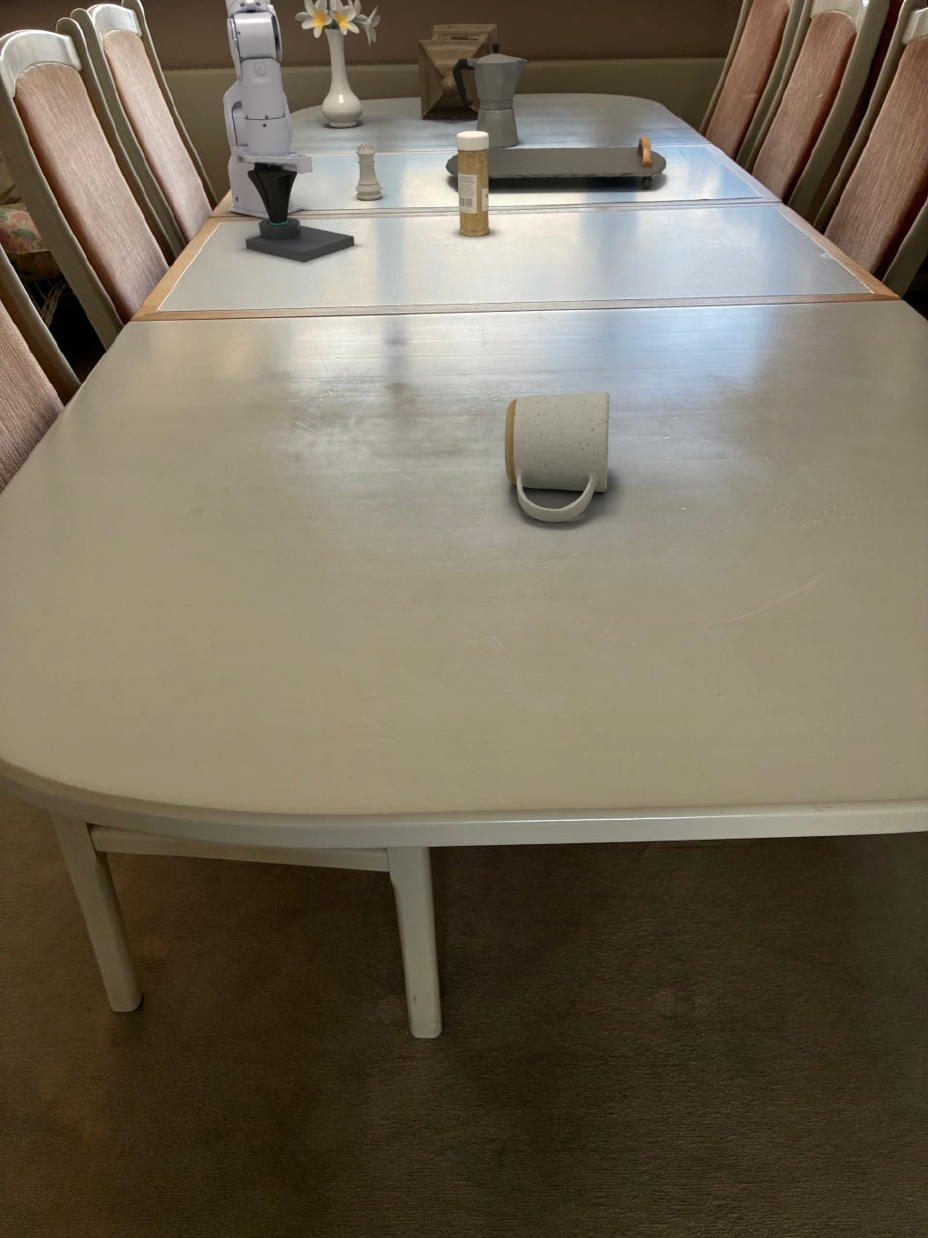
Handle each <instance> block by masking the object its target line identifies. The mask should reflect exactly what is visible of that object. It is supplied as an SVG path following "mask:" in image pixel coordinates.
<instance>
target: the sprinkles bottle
mask: <svg viewBox="0 0 928 1238" xmlns="http://www.w3.org/2000/svg"><path fill="white" fill-rule="evenodd" d="M455 136H456V137H455V141H456V142H455V146H456V149H457V154H458V178H457V189H458V191H457V192H458V193H457V194H458V210H459V230H458V231H459V233H460V235H462V236H465V237H482V236H486V235H487V234H489V233H490V227H489V226H490V225H489V221H490V220H489V208H490V206H489V178H488V166H487V165H488V163H487V151H488V149H489V148H488V147H489V136H488V133H486V132H482V131H476V130H467V131H466V130H465V131H461V132H458V133H457V134H456V135H455Z"/></svg>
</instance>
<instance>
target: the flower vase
mask: <svg viewBox="0 0 928 1238" xmlns="http://www.w3.org/2000/svg"><path fill="white" fill-rule="evenodd" d="M347 3H348V5H345V6H344V5H343V2H342V1H341V0H329V10H328V9H327V8H328V1H327V0H316V2H315V4H314V3H313V1H312V0H303V6H304V9H305V11H301V12H298V13H296V15H295V16H294V19H295V20H296V21H298V22H302V23H301V28H302V31H303V32H307V31H308V30H310V29H313V35H314V37H315V38H316V39H318V38H320V36H321V35H322V30H323V27H324V26H325V27H326V28H325V29H324V33H325V34H326V37H327V41H328V47H329V52H330V65H331V83H330V87H329V90H328V91H329V92H328V93H327V94H326V97H325V98H324V99H323V102H322V103H321V113H322V116H323V117H324V118H325V119H326V120H327V121H329V126H330V127H331V128H337V129H339V128H340V129H344V128H346V129H347V128H352V127H355V126H357V124H358V122H357V120H358V119H359V118H360V117H361V116H362V114H363V105H362V102H361V101H360V99H359V98H358V96H357V95H356V94H355V93H354V92H353V90H352V89H351V86H350V84H349V81H348V80H349V79H348V77H347V69H346V62H345V52H344V50H345V49H344V47H345V46H344V42H345V36H346V35H347V34H348V32H349V33H352V32H353V33H354V34H360V29H359V28H358V27H360V28H361V29H362V30H363V31H364V32H365V33H366V36H367V40H368V46H369V47H370V46H371V43H372V42H373V43H376V41H377V33H376V29H375V27H377V26H378V25H379V23H380V20H381V15H379V14H378V15H377V12H378V7H379V6H378V5H376V6H375V8H374V10H373V11H372V12H371V14H370V15H369V16H366V15H365V14H360V13H361V9H362V5H361V2H360V0H355V1H354V4H353V2H352V0H347Z"/></svg>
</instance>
